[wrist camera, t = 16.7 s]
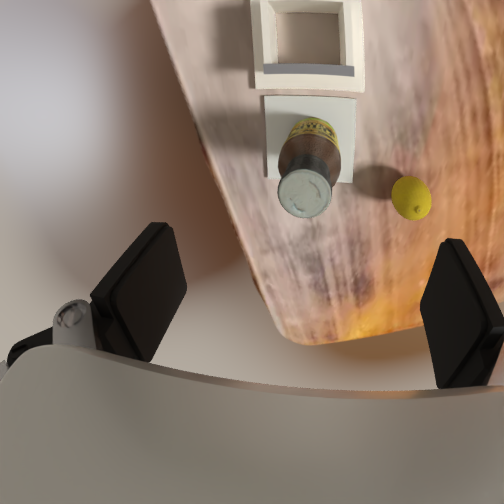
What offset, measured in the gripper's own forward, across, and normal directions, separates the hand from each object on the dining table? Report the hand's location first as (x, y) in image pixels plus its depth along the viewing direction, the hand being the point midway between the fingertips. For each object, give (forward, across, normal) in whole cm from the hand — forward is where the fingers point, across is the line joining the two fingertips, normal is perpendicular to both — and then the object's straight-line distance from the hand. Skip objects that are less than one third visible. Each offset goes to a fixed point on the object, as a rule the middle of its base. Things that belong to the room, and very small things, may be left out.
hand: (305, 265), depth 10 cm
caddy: (+33, 0, -11) cm, 34 cm away
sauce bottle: (+32, 0, +3) cm, 32 cm away
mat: (+32, 0, +3) cm, 33 cm away
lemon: (+33, -13, +10) cm, 37 cm away
